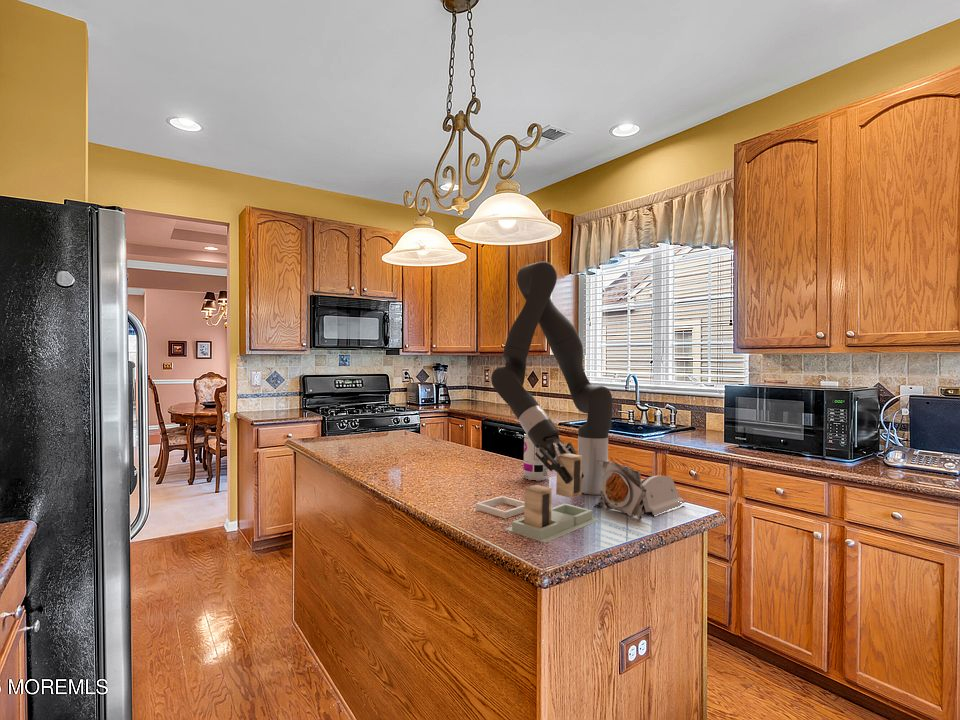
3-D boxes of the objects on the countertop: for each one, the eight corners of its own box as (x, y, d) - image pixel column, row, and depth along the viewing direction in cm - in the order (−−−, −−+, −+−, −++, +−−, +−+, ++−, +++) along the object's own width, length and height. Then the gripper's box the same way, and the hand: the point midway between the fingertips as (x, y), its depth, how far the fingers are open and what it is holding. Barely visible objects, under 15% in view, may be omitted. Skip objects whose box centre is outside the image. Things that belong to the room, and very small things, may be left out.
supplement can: (521, 480, 170) (521, 436, 170) (526, 474, 178) (527, 432, 178) (545, 482, 168) (545, 437, 168) (549, 476, 176) (549, 433, 176)
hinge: (654, 517, 133) (643, 479, 135) (639, 518, 136) (629, 481, 139) (686, 506, 143) (675, 470, 146) (671, 507, 147) (661, 473, 149)
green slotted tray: (560, 512, 136) (561, 501, 136) (600, 523, 127) (600, 511, 127) (504, 533, 119) (504, 520, 119) (545, 547, 111) (545, 533, 111)
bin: (502, 504, 142) (502, 495, 142) (531, 513, 134) (531, 504, 134) (475, 512, 134) (475, 503, 134) (505, 522, 127) (505, 512, 127)
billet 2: (566, 491, 131) (567, 453, 131) (581, 495, 128) (582, 455, 127) (556, 494, 128) (557, 455, 127) (571, 498, 124) (572, 457, 124)
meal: (591, 507, 141) (592, 460, 140) (601, 505, 143) (602, 459, 143) (636, 522, 128) (637, 471, 128) (646, 519, 131) (647, 469, 131)
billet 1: (535, 525, 122) (536, 484, 122) (551, 530, 118) (552, 488, 118) (524, 530, 118) (524, 487, 118) (539, 535, 115) (540, 491, 115)
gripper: (530, 419, 128) (568, 476, 119) (562, 416, 138) (600, 467, 129) (513, 437, 131) (549, 493, 123) (546, 433, 142) (581, 484, 133)
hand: (575, 480), depth 126 cm, fingers closed on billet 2, 4 cm apart
